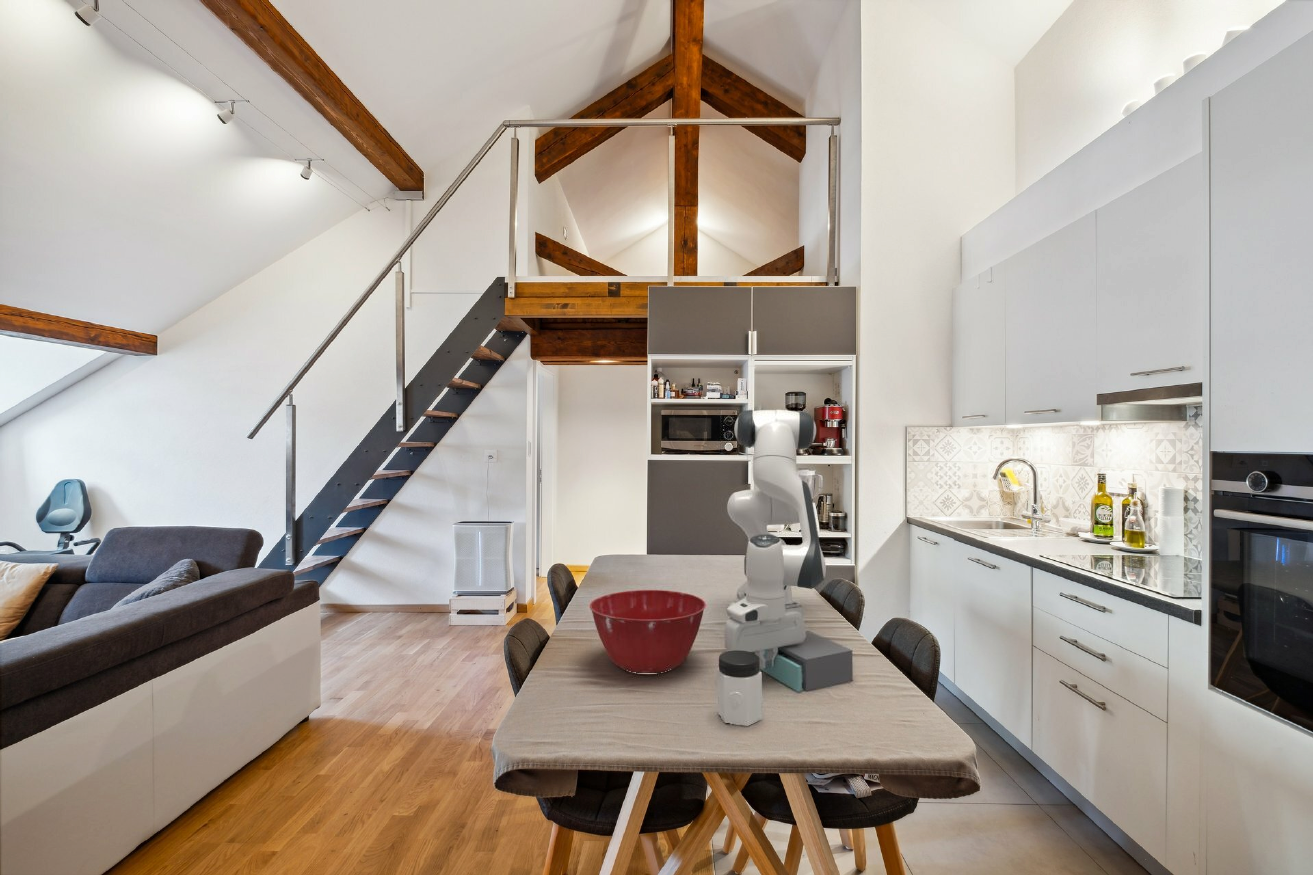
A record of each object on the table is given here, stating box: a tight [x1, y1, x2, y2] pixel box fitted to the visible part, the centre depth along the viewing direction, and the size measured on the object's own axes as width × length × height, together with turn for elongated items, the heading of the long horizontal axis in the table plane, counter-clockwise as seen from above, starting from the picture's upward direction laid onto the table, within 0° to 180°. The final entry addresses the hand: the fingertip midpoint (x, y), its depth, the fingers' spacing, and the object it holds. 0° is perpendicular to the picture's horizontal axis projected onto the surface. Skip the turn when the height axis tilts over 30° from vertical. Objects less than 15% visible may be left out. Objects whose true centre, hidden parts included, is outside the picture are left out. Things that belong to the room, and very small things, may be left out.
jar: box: [716, 650, 763, 727], centre depth 125 cm, size 9×8×12 cm
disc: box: [787, 655, 803, 671], centre depth 146 cm, size 7×7×2 cm
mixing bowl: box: [589, 589, 707, 673], centre depth 154 cm, size 28×28×16 cm
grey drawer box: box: [777, 630, 854, 692], centre depth 147 cm, size 16×13×7 cm
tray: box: [760, 649, 803, 693], centre depth 146 cm, size 16×13×5 cm
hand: (766, 666), depth 143 cm, fingers closed
